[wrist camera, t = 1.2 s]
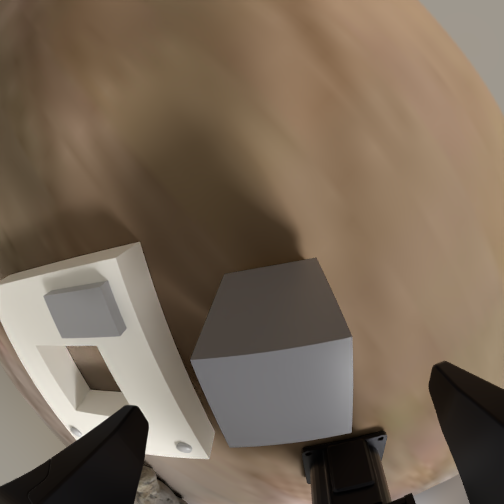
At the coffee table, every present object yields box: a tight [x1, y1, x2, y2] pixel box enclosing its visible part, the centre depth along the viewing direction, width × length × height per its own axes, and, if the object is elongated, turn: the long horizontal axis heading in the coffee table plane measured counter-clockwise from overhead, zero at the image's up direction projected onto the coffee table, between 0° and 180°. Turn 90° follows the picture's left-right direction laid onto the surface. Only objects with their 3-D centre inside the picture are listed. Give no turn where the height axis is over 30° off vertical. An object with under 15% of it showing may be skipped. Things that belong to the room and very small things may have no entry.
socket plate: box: [0, 242, 215, 459], centre depth 14 cm, size 14×12×3 cm
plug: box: [190, 258, 353, 447], centre depth 10 cm, size 4×4×7 cm
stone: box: [135, 466, 187, 504], centre depth 19 cm, size 10×5×8 cm
